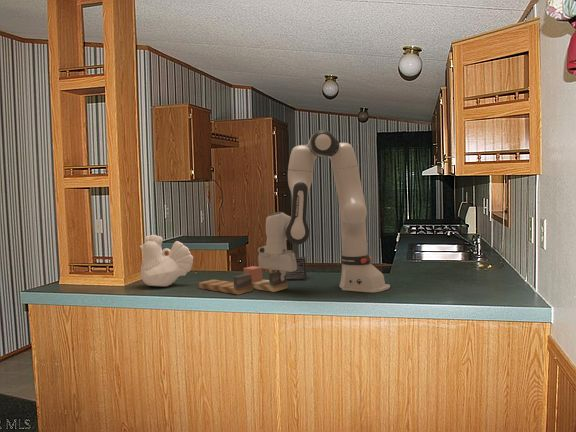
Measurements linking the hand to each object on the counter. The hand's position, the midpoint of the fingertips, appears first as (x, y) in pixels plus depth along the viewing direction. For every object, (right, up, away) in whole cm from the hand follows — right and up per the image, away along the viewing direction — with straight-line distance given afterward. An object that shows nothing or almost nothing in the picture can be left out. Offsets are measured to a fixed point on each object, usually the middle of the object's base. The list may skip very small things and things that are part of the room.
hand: (278, 279), depth 247 cm
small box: (+8, -3, +24) cm, 25 cm away
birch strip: (-9, -4, +8) cm, 12 cm away
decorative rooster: (-53, -5, +19) cm, 57 cm away
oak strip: (-24, -5, +6) cm, 25 cm away
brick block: (-12, -2, +10) cm, 16 cm away
